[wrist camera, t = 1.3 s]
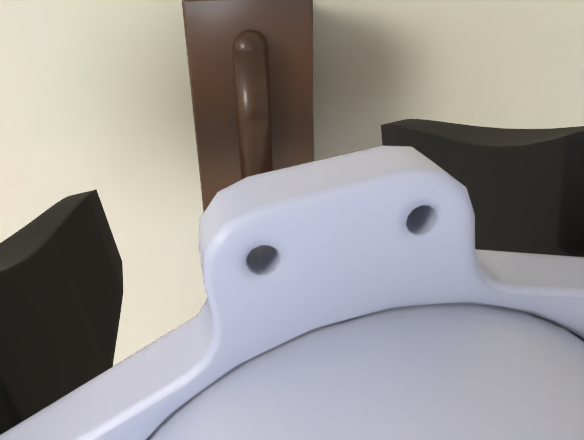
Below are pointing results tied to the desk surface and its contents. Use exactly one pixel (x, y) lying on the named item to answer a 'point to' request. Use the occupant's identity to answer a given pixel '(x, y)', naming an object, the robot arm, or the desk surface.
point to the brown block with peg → (249, 87)
